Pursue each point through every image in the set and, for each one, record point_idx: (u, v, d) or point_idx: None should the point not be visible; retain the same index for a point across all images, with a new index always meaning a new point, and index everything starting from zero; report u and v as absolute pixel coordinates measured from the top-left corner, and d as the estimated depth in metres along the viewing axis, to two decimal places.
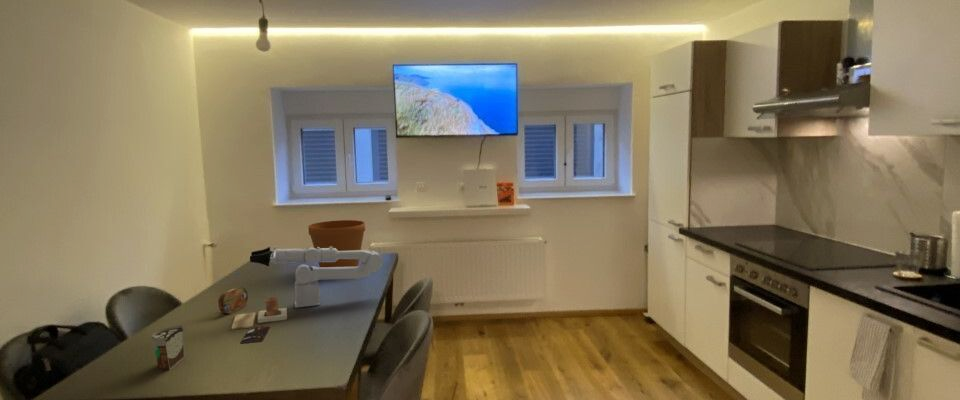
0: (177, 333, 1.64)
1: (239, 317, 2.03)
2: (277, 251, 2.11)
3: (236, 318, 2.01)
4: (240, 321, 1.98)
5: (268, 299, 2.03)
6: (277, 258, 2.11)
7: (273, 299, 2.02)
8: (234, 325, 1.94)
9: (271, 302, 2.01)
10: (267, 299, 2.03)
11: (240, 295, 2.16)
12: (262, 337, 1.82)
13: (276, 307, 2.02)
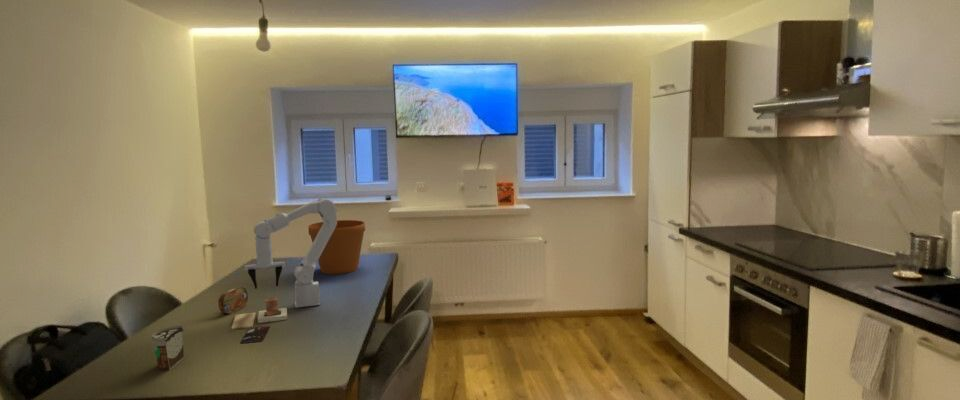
0: (177, 333, 1.64)
1: (239, 317, 2.03)
2: (270, 263, 2.09)
3: (236, 318, 2.01)
4: (240, 321, 1.98)
5: (268, 299, 2.03)
6: (272, 261, 2.11)
7: (273, 299, 2.02)
8: (234, 325, 1.94)
9: (271, 302, 2.01)
10: (267, 299, 2.03)
11: (240, 295, 2.16)
12: (262, 337, 1.82)
13: (276, 307, 2.02)
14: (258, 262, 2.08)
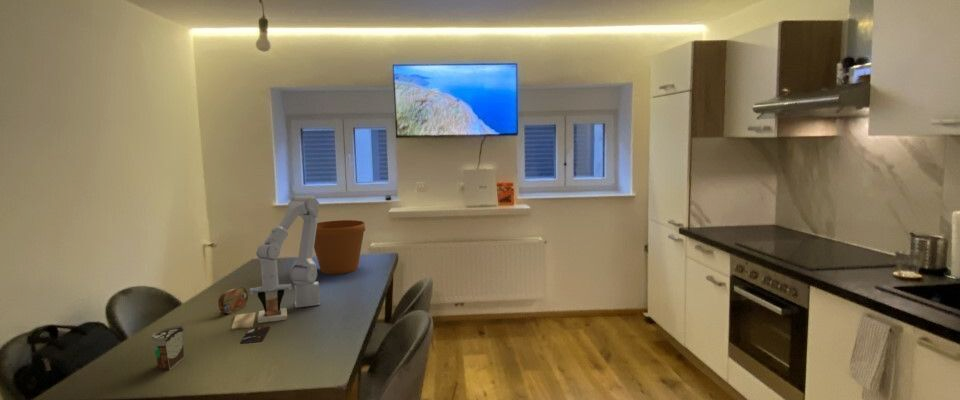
0: (177, 333, 1.64)
1: (239, 317, 2.03)
2: (275, 286, 2.01)
3: (236, 318, 2.01)
4: (240, 321, 1.98)
5: (268, 299, 2.03)
6: (278, 283, 2.03)
7: (273, 299, 2.02)
8: (234, 325, 1.94)
9: (271, 302, 2.01)
10: (267, 299, 2.03)
11: (240, 295, 2.16)
12: (262, 337, 1.82)
13: (276, 307, 2.02)
14: (264, 285, 2.00)
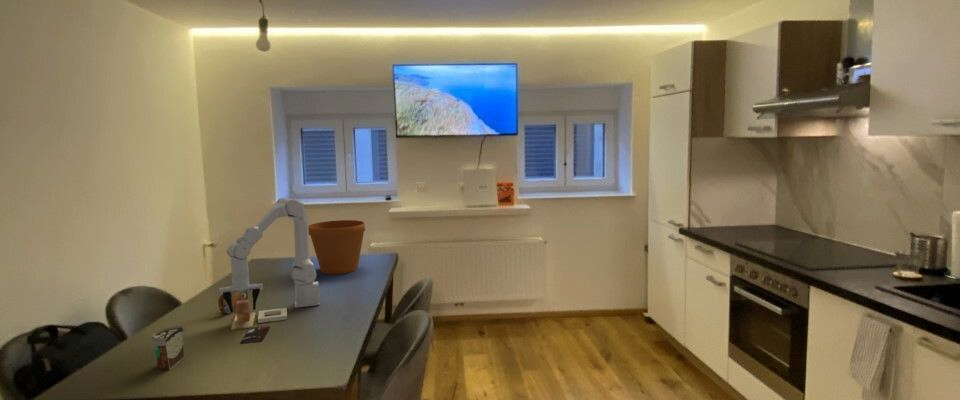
0: (177, 333, 1.64)
1: None
2: (246, 285, 1.97)
3: (236, 318, 2.01)
4: None
5: (239, 301, 1.98)
6: (249, 283, 1.99)
7: (244, 301, 1.98)
8: (234, 325, 1.94)
9: (242, 305, 1.97)
10: (238, 301, 1.98)
11: (240, 295, 2.16)
12: (262, 337, 1.82)
13: (247, 310, 1.97)
14: (234, 285, 1.95)
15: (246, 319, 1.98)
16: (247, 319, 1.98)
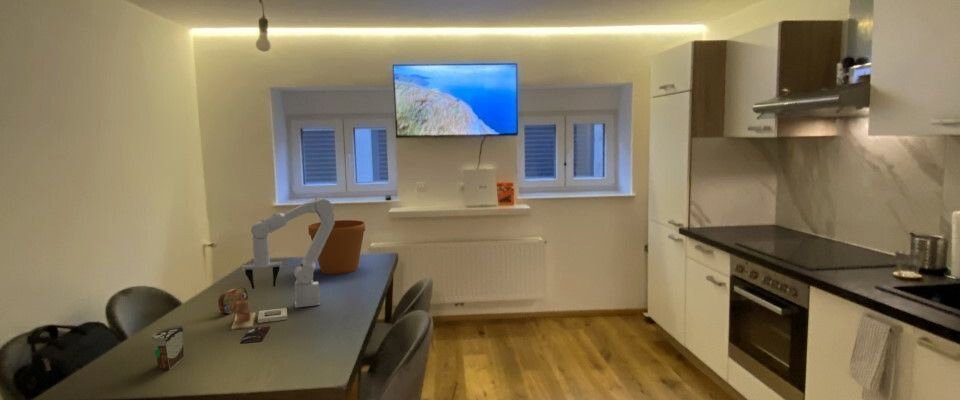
0: (177, 333, 1.64)
1: None
2: (267, 263, 2.09)
3: (236, 318, 2.01)
4: None
5: (239, 301, 1.98)
6: (269, 261, 2.11)
7: (244, 301, 1.98)
8: (234, 325, 1.94)
9: (242, 305, 1.97)
10: (238, 301, 1.98)
11: (240, 295, 2.16)
12: (262, 337, 1.82)
13: (247, 310, 1.97)
14: (255, 262, 2.07)
15: (246, 319, 1.98)
16: (247, 319, 1.98)
